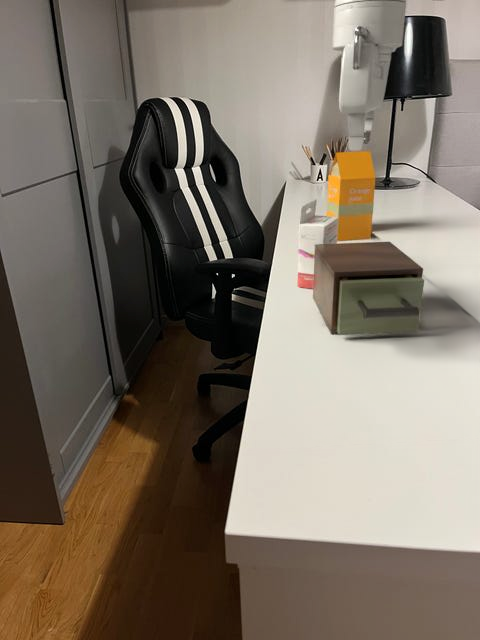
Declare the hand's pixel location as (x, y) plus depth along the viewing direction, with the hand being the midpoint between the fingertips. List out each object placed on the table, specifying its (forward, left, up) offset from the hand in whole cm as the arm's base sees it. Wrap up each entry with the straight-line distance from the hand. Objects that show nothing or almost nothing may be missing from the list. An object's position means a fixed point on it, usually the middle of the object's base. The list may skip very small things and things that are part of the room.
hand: (360, 146), depth 70 cm
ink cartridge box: (+2, -16, -26) cm, 30 cm away
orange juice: (-12, -48, -26) cm, 56 cm away
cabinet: (-2, 0, -25) cm, 25 cm away
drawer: (-2, +5, -24) cm, 25 cm away
